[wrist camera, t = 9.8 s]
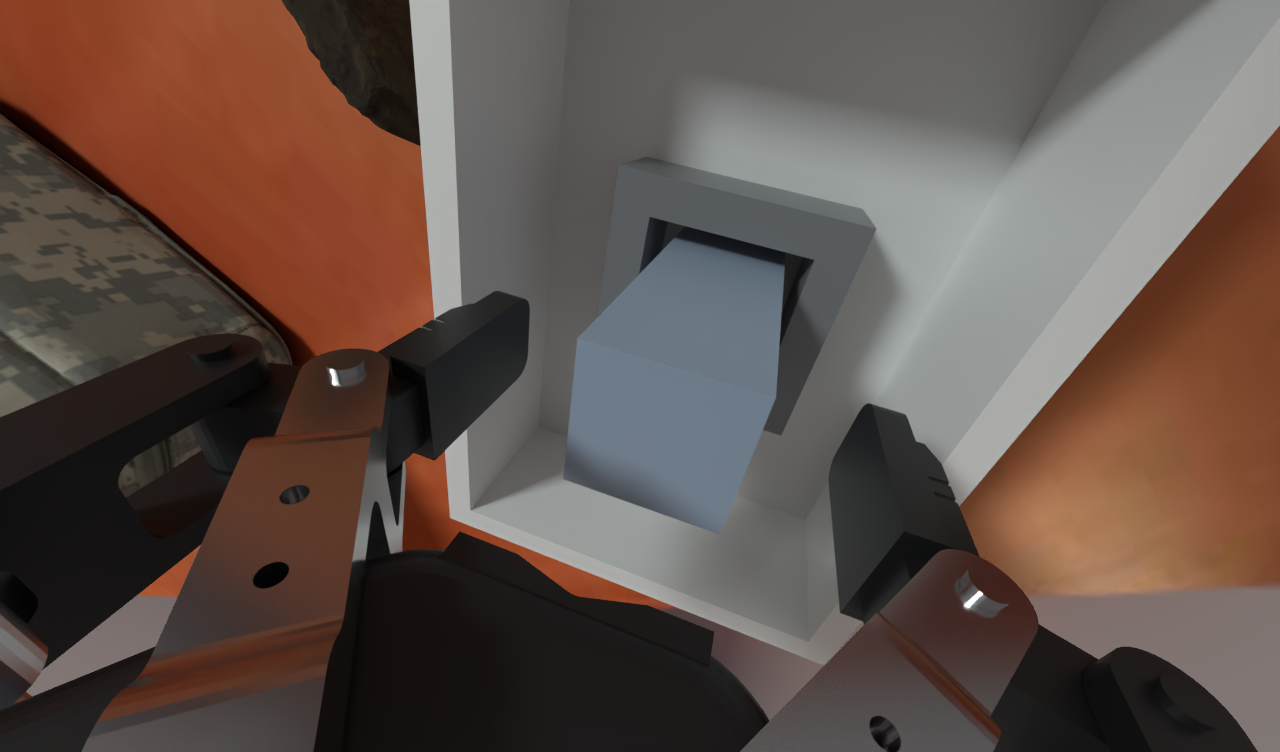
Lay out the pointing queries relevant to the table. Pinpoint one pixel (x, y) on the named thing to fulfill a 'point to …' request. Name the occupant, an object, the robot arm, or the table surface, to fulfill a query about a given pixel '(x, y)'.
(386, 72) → the hand tool
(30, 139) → the lunch bag
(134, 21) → the table surface
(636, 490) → the plug
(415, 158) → the table surface
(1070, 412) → the table surface
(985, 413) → the walled box
